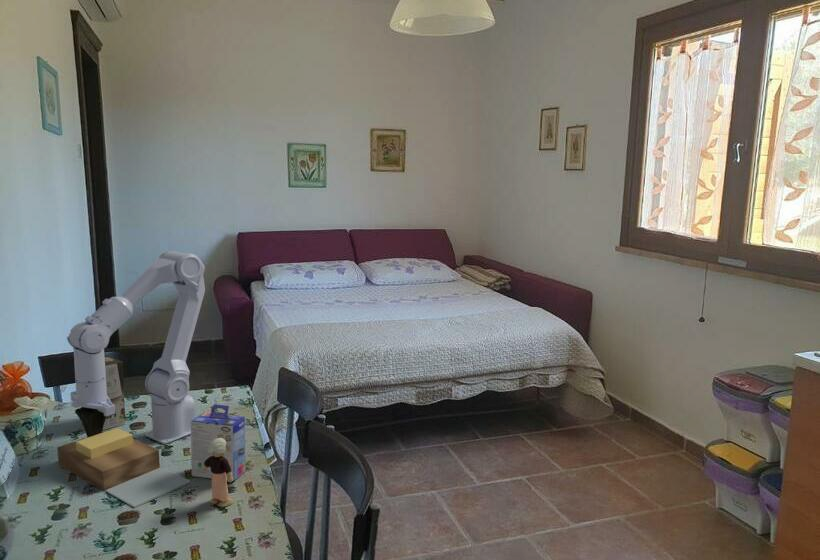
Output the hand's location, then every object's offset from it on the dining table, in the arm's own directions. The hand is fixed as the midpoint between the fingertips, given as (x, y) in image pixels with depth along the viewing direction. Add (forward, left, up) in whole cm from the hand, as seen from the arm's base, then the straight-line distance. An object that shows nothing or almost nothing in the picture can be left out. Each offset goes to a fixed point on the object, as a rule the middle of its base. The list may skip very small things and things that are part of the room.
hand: (94, 439), depth 129 cm
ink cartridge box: (-12, +26, -5) cm, 29 cm away
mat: (0, +20, -5) cm, 20 cm away
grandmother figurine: (-5, +35, -5) cm, 36 cm away
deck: (0, +5, -5) cm, 7 cm away
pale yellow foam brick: (0, +4, -1) cm, 4 cm away
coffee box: (-12, -18, -5) cm, 22 cm away
